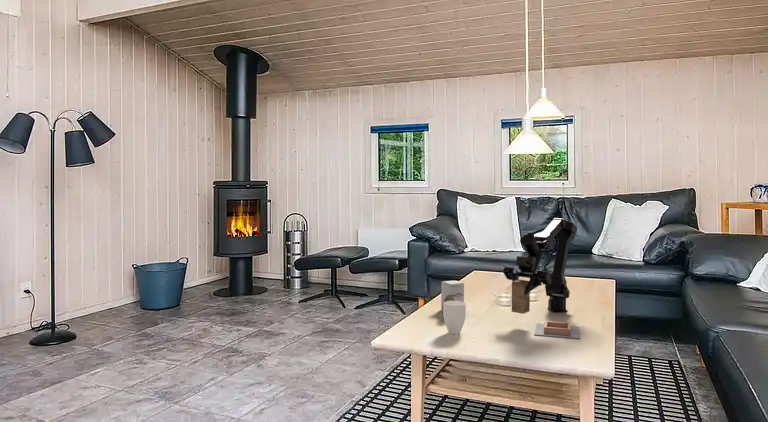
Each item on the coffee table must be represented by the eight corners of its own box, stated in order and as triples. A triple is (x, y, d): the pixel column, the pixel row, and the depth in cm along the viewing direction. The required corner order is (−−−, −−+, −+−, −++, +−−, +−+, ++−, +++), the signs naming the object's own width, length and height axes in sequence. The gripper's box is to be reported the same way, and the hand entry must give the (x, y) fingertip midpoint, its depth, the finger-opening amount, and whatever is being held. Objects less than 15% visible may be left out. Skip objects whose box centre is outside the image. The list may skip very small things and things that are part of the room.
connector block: (517, 309, 214) (518, 279, 213) (529, 311, 211) (529, 280, 210) (511, 311, 211) (511, 281, 210) (523, 313, 207) (523, 282, 206)
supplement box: (450, 313, 232) (450, 284, 231) (440, 309, 239) (440, 281, 238) (464, 311, 235) (464, 282, 235) (454, 307, 242) (454, 279, 241)
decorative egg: (456, 316, 226) (456, 293, 226) (457, 320, 220) (457, 296, 220) (441, 316, 227) (441, 292, 226) (442, 320, 221) (442, 296, 220)
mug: (463, 337, 197) (463, 306, 197) (440, 335, 200) (440, 304, 199) (469, 328, 208) (469, 299, 208) (448, 326, 211) (448, 297, 211)
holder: (536, 324, 214) (536, 318, 214) (579, 327, 209) (579, 321, 209) (534, 335, 199) (534, 328, 199) (580, 339, 194) (580, 332, 194)
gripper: (505, 246, 218) (490, 277, 211) (548, 250, 206) (534, 283, 198) (514, 263, 225) (500, 294, 217) (557, 268, 212) (544, 301, 205)
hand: (519, 292), depth 209 cm, fingers closed on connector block, 5 cm apart
